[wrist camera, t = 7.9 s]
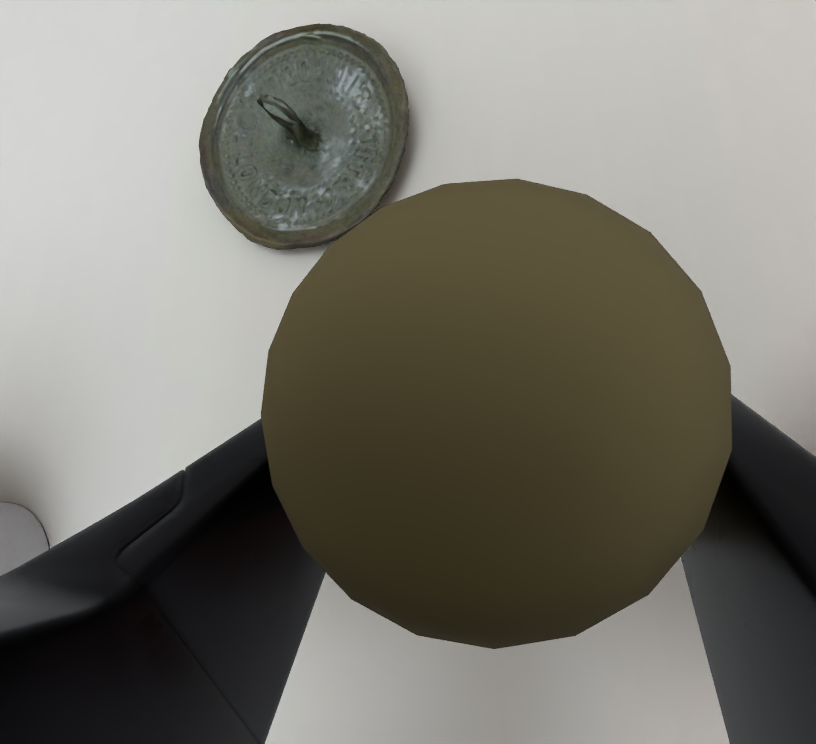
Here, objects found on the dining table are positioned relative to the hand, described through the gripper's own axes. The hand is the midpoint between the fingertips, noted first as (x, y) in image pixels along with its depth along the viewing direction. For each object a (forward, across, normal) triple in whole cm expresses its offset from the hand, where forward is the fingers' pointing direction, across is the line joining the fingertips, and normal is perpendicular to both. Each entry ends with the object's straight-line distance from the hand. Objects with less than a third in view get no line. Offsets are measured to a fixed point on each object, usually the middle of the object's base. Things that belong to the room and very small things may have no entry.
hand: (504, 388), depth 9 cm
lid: (+18, +10, 0) cm, 21 cm away
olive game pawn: (+4, 0, +5) cm, 7 cm away
